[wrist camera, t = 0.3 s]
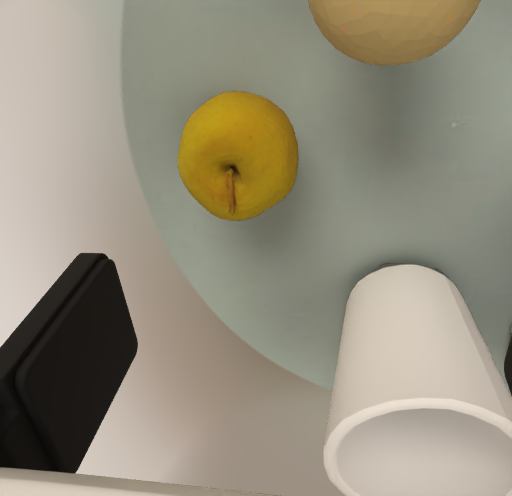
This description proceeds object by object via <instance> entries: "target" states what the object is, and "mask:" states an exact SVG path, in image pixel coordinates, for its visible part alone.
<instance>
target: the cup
mask: <svg viewBox="0 0 512 496" xmlns="http://www.w3.org/2000/svg"><path fill="white" fill-rule="evenodd" d="M323 453H324V467H325V469H326V472H327V474H328V477H329V479H330V481H331V482H332V483H333V484H334V485H335V486H336V487H337V488H338V489H339V490H340V491H341V492H342V493H343V494H345V495H346V496H512V397H511V395H510V393H509V391H508V389H507V387H506V385H505V383H504V381H503V379H502V377H501V375H500V373H499V371H498V369H497V367H496V365H495V363H494V361H493V358H492V356H491V354H490V352H489V350H488V348H487V346H486V344H485V342H484V340H483V338H482V336H481V334H480V332H479V330H478V328H477V326H476V324H475V322H474V320H473V317H472V315H471V313H470V311H469V309H468V307H467V305H466V303H465V301H464V299H463V297H462V295H461V294H460V292H459V291H458V289H457V287H456V286H455V284H453V283H452V282H451V280H450V279H449V278H448V277H447V276H446V275H445V274H444V273H443V272H441V271H439V270H438V269H433V268H428V267H423V266H419V265H403V264H391V263H386V264H382V265H380V266H379V267H378V268H376V269H375V270H374V271H372V272H371V273H370V274H369V275H367V276H366V277H364V278H363V279H362V280H360V281H359V282H358V283H357V284H356V286H355V287H354V288H353V290H352V291H351V293H350V295H349V298H348V301H347V305H346V311H345V317H344V324H343V330H342V336H341V342H340V349H339V355H338V361H337V367H336V374H335V380H334V386H333V393H332V399H331V405H330V411H329V418H328V424H327V430H326V437H325V443H324V450H323Z"/></svg>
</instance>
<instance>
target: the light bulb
mask: <svg viewBox="0 0 512 496" xmlns="http://www.w3.org/2000/svg"><path fill="white" fill-rule="evenodd" d="M480 1H481V0H308V2H309V7H310V9H311V12H312V15H313V17H314V20H315V23H316V24H317V26H318V27H319V29H320V31H321V32H322V34H323V35H324V37H325V38H326V39H327V40H328V41H329V42H330V43H331V44H332V45H333V46H334V47H335V48H336V49H338V50H339V51H341V52H342V53H344V54H345V55H347V56H349V57H351V58H353V59H356V60H358V61H361V62H364V63H369V64H375V65H400V64H406V63H410V62H414V61H417V60H420V59H423V58H425V57H428V56H430V55H432V54H434V53H435V52H437V51H438V50H440V49H441V48H443V47H444V46H446V45H447V44H448V43H449V42H450V41H451V40H452V39H453V38H454V37H456V36H457V35H458V34H459V33H460V32H461V31H462V29H463V28H464V27H465V25H466V24H467V23H468V22H469V20H470V19H471V17H472V15H473V14H474V12H475V10H476V9H477V7H478V5H479V3H480Z"/></svg>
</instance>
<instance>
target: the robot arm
mask: <svg viewBox="0 0 512 496" xmlns="http://www.w3.org/2000/svg"><path fill="white" fill-rule="evenodd" d="M137 348H138V342H137V337H136V334H135V331H134V327H133V324H132V320H131V317H130V314H129V310H128V307H127V303H126V300H125V297H124V293H123V290H122V286H121V283H120V279H119V276H118V273H117V270H116V266H115V263H114V262H113V260H111V259H108V257H107V256H106V255H105V254H103V253H80V254H79V255H78V256H77V257H76V258H75V259H74V260H73V262H72V263H71V264H70V265H69V266H68V268H67V269H66V270H65V271H64V272H63V273H62V275H61V276H60V277H59V278H58V279H57V281H56V282H55V283H54V284H53V285H52V287H51V288H50V289H49V290H48V291H47V293H46V294H45V295H44V296H43V297H42V298H41V300H40V301H39V302H38V303H37V304H36V306H35V307H34V308H33V309H32V311H31V312H30V313H29V314H28V315H27V316H26V318H25V319H24V320H23V321H22V322H21V324H20V325H19V326H18V327H17V328H16V329H15V331H14V332H13V333H12V334H11V335H10V337H9V338H8V339H7V340H6V341H5V343H4V344H3V345H2V346H1V347H0V496H278V495H270V494H261V493H252V492H243V491H234V490H225V489H215V488H206V487H197V486H188V485H179V484H169V483H160V482H150V481H141V480H131V479H121V478H112V477H102V476H93V475H84V474H75V473H76V471H77V470H78V468H79V466H80V464H81V462H82V460H83V458H84V456H85V454H86V452H87V450H88V448H89V446H90V445H91V443H92V440H93V439H94V436H95V435H96V433H97V430H98V429H99V427H100V425H101V423H102V421H103V419H104V417H105V415H106V413H107V411H108V409H109V407H110V405H111V402H112V401H113V399H114V397H115V395H116V393H117V391H118V389H119V387H120V385H121V383H122V381H123V379H124V377H125V375H126V373H127V371H128V369H129V367H130V365H131V363H132V361H133V359H134V357H135V355H136V352H137ZM504 372H505V377H506V380H507V383H508V386H509V389H510V392H511V395H512V335H511V339H510V343H509V346H508V350H507V354H506V357H505V362H504Z"/></svg>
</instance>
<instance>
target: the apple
mask: <svg viewBox="0 0 512 496" xmlns="http://www.w3.org/2000/svg"><path fill="white" fill-rule="evenodd" d="M298 159H299V158H298V144H297V140H296V136H295V132H294V129H293V126H292V124H291V123H290V121H289V119H288V117H287V115H286V114H285V113H284V112H283V111H282V110H281V109H280V108H279V107H278V106H276V105H275V104H274V103H272V102H271V101H270V100H268V99H266V98H264V97H261V96H258V95H255V94H251V93H246V92H241V91H232V92H225V93H222V94H219V95H217V96H215V97H213V98H211V99H210V100H208V101H207V102H206V103H205V104H203V105H202V106H201V107H199V108H198V109H197V110H196V111H195V112H194V113H193V114H192V115H191V116H190V118H189V120H188V121H187V123H186V125H185V127H184V130H183V134H182V136H181V142H180V147H179V154H178V169H179V173H180V176H181V179H182V181H183V183H184V185H185V186H186V188H187V190H188V191H189V192H190V194H191V195H192V196H193V197H194V198H195V199H196V200H197V201H198V202H199V203H200V204H201V205H202V206H203V207H204V208H205V209H206V210H207V211H209V212H210V213H211V214H213V215H215V216H216V217H219V218H221V219H226V220H236V221H241V220H245V219H250V218H253V217H255V216H257V215H259V214H261V213H262V212H264V211H265V210H266V209H268V208H270V207H271V206H273V205H274V204H276V203H278V202H279V201H281V200H282V199H283V198H284V197H285V196H286V195H287V194H288V193H289V192H290V190H291V189H292V187H293V185H294V183H295V178H296V174H297V168H298Z"/></svg>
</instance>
